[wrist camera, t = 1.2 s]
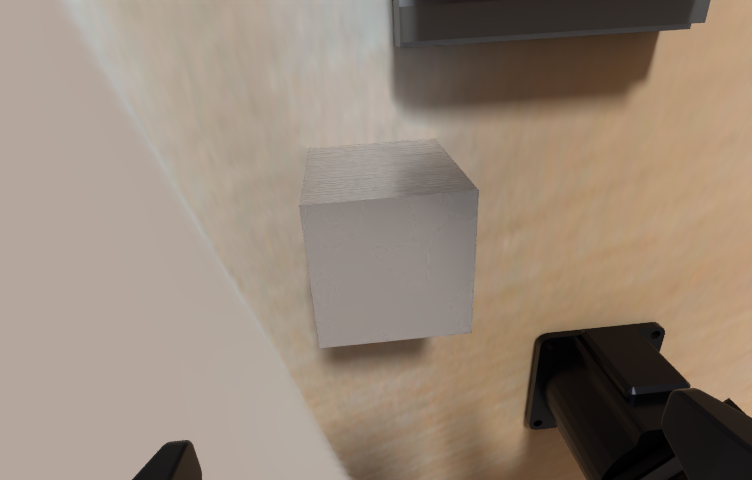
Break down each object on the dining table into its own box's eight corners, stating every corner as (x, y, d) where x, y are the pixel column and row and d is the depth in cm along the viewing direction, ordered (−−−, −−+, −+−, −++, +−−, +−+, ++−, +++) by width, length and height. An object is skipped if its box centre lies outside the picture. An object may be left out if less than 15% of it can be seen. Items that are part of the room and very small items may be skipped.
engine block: (434, 248, 20) (471, 332, 15) (322, 258, 20) (319, 348, 14) (434, 138, 18) (478, 190, 12) (309, 147, 18) (299, 205, 12)
